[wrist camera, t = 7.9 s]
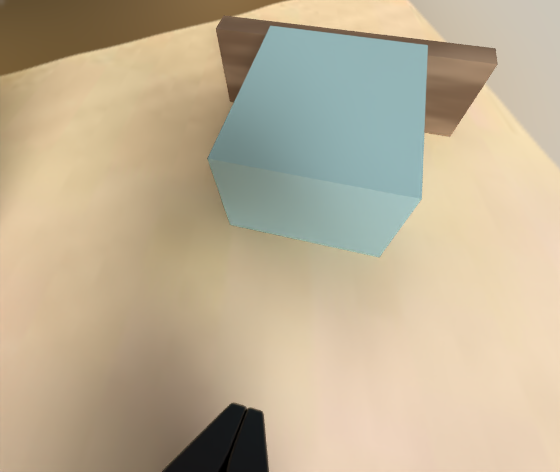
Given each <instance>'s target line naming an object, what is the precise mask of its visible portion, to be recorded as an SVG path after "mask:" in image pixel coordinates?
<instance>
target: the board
mask: <svg viewBox="0 0 560 472" xmlns="http://www.w3.org/2000/svg"><path fill="white" fill-rule="evenodd" d="M270 26H278V27H286V28H294V29H302V30H310V31H318V32H326V33H334V34H342V35H350V36H358V37H366V38H374V39H382V40H390V41H398V42H406V43H414V44H422V45H428V55H427V79H426V103H425V127H424V132H425V133H431V134H437V135H444V136H451V134H452V133H453V131H454V130H455V128H456V127H457V125H458V124H459V122H460V121H461V119H462V118H463V116H464V115H465V113H466V111H467V110H468V108H469V107H470V105H471V104H472V102H473V101H474V99H475V98H476V96H477V95H478V93H479V92H480V90H481V89H482V87H483V86H484V84H485V83H486V81H487V80H488V78H489V77H490V75H491V74H492V72H493V70H494V69H495V67H496V66H497V57H496V49H495V48H487V47H479V46H471V45H462V44H454V43H446V42H438V41H429V40H421V39H413V38H405V37H396V36H388V35H380V34H371V33H363V32H355V31H347V30H338V29H330V28H322V27H314V26H305V25H297V24H289V23H280V22H272V21H264V20H256V19H247V18H239V17H231V16H223V18H222V19H221V21H220V23H219V24H218V26H217V28H216V32H217V37H218V42H219V47H220V52H221V57H222V62H223V68H224V73H225V78H226V83H227V88H228V93H229V98H230V102H234V101H235V99H236V97H237V95H238V93H239V91H240V89H241V87H242V85H243V82H244V80H245V78H246V76H247V74H248V72H249V70H250V68H251V66H252V63H253V61H254V59H255V57H256V55H257V53H258V51H259V49H260V47H261V44H262V42H263V40H264V38H265V36H266V34H267V32H268V30H269V28H270Z"/></svg>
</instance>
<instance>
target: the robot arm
mask: <svg viewBox="0 0 560 472" xmlns="http://www.w3.org/2000/svg"><path fill="white" fill-rule="evenodd" d="M162 472H269V466H268V455H267V445H266V434H265V424H264V414H263V412H262V411H261V410H257V409H254V408H248V409H247V407H246V406H244V405H241V404H237V403H231V404H230V405H229V406H228V407H227V408H226V409H225V410H224V411H223V412H222V413H220V414H219V415H218V416H217V417H216V418H215V419H214V420H213V421H212V422H211V423H210V424H209V425H208V426H207V427H206V428H205V429H204V430H203V431H202V432H201V433H200V434H199V435H198V436H197V437H196V438H195V439H194V440H193V441H192V442H191V443H190V444H189V445H188V446H187V447H186V448H185V449H184V450H183V451H182V452H181V453H180V454H179V455H178V456H177V457H176V458H175V459H174V460H173V461H172V462H171V463H170V464H169V465H168V466H167V467H166V468H165V469H164V470H163V471H162Z"/></svg>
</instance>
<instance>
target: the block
mask: <svg viewBox="0 0 560 472" xmlns="http://www.w3.org/2000/svg"><path fill="white" fill-rule="evenodd" d="M427 55H428V45H422V44H414V43H406V42H398V41H390V40H382V39H374V38H366V37H358V36H350V35H342V34H334V33H326V32H318V31H310V30H302V29H294V28H286V27H278V26H270V28H269V30H268V32H267V34H266V36H265V38H264V40H263V42H262V44H261V47H260V49H259V51H258V53H257V55H256V57H255V59H254V61H253V63H252V66H251V68H250V70H249V72H248V74H247V76H246V78H245V80H244V82H243V85H242V87H241V89H240V91H239V93H238V95H237V97H236V99H235V101H234V104H233V106H232V108H231V110H230V112H229V114H228V116H227V118H226V120H225V122H224V125H223V127H222V129H221V131H220V133H219V135H218V137H217V139H216V141H215V144H214V146H213V148H212V150H211V152H210V154H209V156H208V158H207V159H208V162H209V165H210V168H211V170H212V173H213V176H214V179H215V182H216V185H217V188H218V191H219V194H220V197H221V200H222V203H223V205H224V208H225V211H226V214H227V217H228V220H229V223H230V225H233V226H238V227H242V228H247V229H252V230H256V231H261V232H265V233H270V234H275V235H279V236H284V237H288V238H293V239H298V240H302V241H307V242H311V243H316V244H321V245H325V246H330V247H334V248H339V249H344V250H348V251H353V252H357V253H362V254H367V255H371V256H376V257H380V255H381V254H382V253H383V251H384V250H385V249H386V247H387V246H388V245H389V243H390V242H391V240H392V239H393V238H394V236H395V235H396V234H397V232H398V231H399V229H400V228H401V227H402V225H403V224H404V223H405V221H406V220H407V218H408V217H409V216H410V214H411V213H412V212H413V210H414V209H415V207H416V206H417V205H418V203H419V202H420V201H421V199H422V176H423V151H424V127H425V103H426V79H427Z"/></svg>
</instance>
